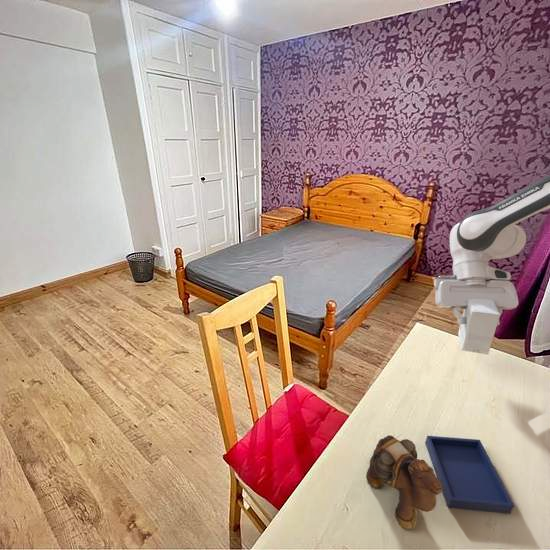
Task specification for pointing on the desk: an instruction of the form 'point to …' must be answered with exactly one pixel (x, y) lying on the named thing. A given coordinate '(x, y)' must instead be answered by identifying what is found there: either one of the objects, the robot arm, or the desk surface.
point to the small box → (478, 325)
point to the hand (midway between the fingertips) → (478, 324)
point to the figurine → (404, 478)
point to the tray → (467, 475)
